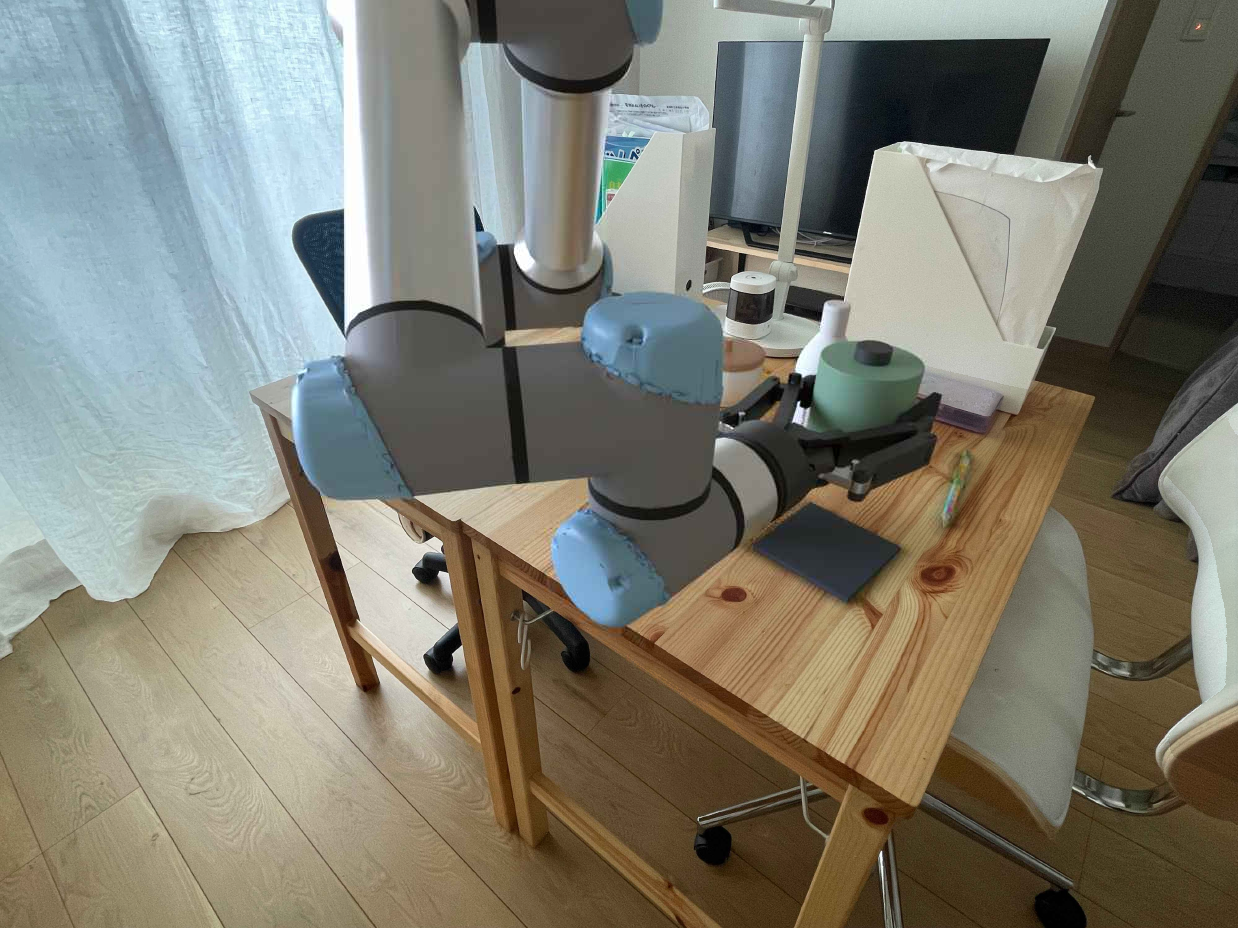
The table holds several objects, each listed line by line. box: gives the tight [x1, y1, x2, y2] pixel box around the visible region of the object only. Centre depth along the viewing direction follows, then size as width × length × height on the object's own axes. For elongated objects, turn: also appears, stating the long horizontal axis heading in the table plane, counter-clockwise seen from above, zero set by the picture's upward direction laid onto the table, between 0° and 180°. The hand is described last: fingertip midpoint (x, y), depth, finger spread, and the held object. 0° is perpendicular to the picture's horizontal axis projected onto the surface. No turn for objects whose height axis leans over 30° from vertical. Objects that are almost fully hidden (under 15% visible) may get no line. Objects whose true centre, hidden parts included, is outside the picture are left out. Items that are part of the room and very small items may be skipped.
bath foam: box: [792, 299, 852, 428], centre depth 77 cm, size 7×7×20 cm
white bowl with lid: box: [720, 336, 766, 408], centre depth 93 cm, size 11×11×9 cm
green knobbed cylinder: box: [807, 339, 926, 467], centre depth 57 cm, size 9×9×11 cm
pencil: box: [941, 449, 975, 529], centre depth 75 cm, size 1×1×18 cm
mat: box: [752, 501, 902, 604], centre depth 66 cm, size 11×11×1 cm
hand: (885, 390), depth 60 cm, fingers closed on green knobbed cylinder, 9 cm apart
